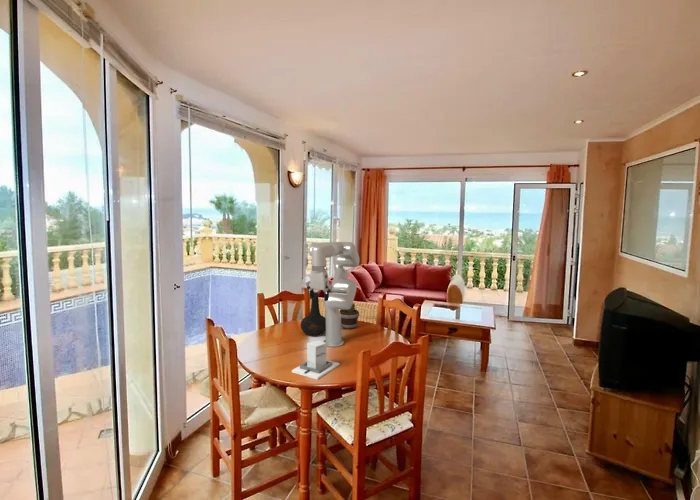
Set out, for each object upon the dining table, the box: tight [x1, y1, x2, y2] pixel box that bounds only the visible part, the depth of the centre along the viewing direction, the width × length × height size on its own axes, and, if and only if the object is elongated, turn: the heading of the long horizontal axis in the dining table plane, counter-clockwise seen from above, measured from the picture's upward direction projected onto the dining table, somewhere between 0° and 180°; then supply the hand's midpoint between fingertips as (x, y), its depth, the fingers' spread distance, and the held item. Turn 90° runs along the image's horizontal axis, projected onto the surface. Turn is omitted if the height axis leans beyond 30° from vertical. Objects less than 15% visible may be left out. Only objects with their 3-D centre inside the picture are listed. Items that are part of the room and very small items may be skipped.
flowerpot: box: [339, 300, 360, 330], centre depth 263 cm, size 14×15×20 cm
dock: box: [291, 359, 340, 380], centre depth 196 cm, size 20×16×2 cm
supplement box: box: [306, 339, 327, 369], centre depth 196 cm, size 7×7×13 cm
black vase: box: [300, 291, 326, 337], centre depth 248 cm, size 18×18×28 cm
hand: (319, 299), depth 207 cm, fingers open, 9 cm apart
